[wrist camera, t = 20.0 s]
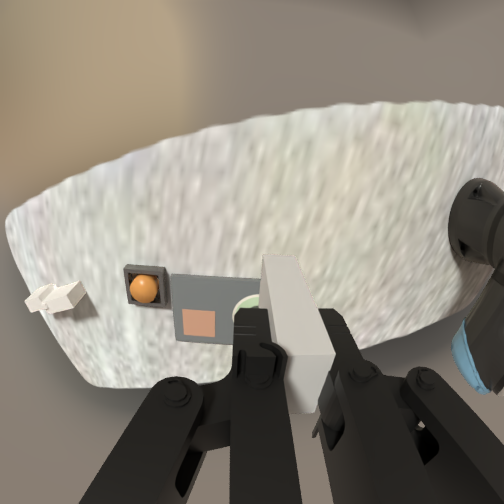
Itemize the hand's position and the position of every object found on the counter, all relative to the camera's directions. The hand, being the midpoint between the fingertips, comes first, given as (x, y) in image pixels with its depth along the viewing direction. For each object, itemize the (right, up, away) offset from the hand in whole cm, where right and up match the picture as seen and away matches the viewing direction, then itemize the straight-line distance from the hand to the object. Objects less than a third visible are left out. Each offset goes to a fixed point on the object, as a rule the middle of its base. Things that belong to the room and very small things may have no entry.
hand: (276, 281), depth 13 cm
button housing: (-17, -3, +27) cm, 32 cm away
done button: (-17, -3, +28) cm, 32 cm away
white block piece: (-35, -5, +27) cm, 45 cm away
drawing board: (-4, -8, +29) cm, 30 cm away
